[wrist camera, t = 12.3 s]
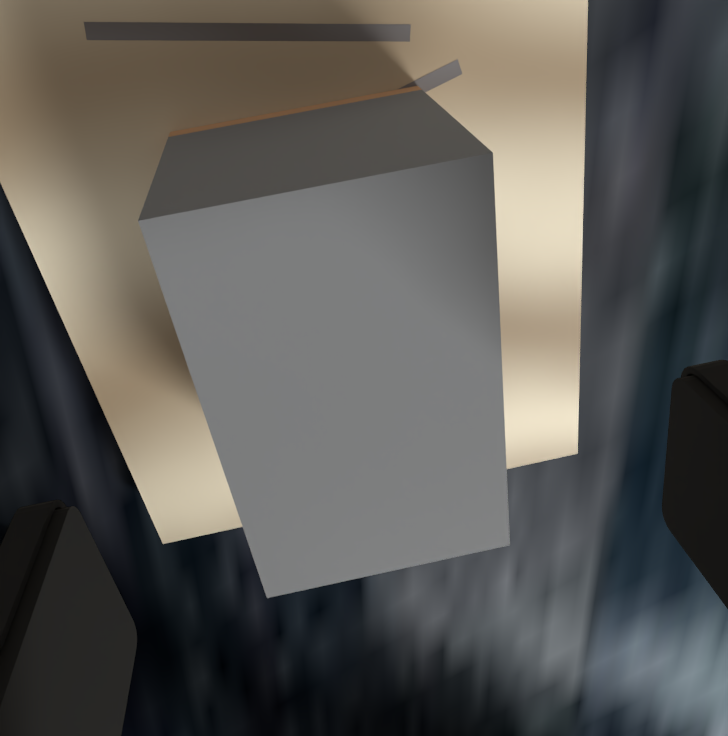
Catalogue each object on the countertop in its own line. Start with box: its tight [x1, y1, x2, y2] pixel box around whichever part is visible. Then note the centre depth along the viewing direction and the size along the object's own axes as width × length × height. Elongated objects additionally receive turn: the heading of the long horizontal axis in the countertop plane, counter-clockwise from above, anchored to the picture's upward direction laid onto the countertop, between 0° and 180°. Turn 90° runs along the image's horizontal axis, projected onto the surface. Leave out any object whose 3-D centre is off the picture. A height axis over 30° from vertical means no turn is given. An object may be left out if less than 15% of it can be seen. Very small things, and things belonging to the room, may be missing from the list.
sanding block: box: [138, 86, 510, 598], centre depth 14 cm, size 8×5×5 cm, turn 8°
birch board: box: [0, 0, 588, 544], centre depth 14 cm, size 22×12×2 cm, turn 8°
